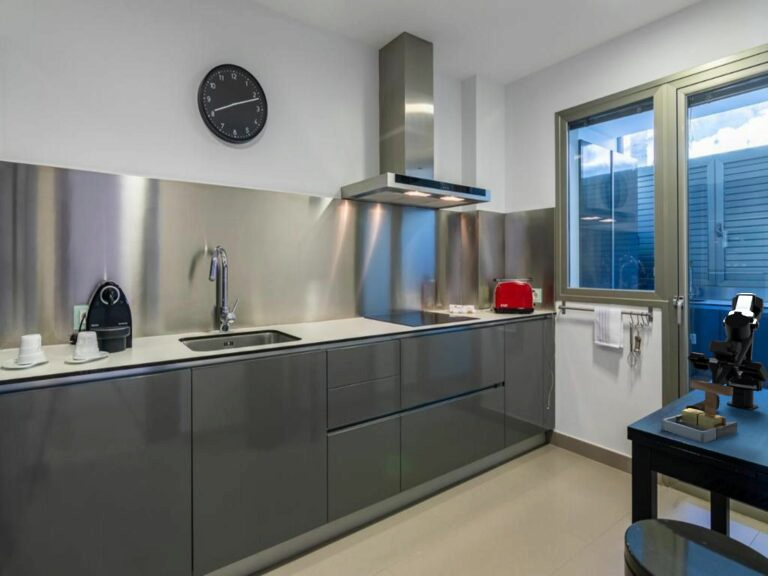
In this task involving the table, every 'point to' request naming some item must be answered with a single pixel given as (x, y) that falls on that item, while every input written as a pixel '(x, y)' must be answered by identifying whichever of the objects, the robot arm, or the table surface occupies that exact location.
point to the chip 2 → (709, 420)
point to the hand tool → (703, 405)
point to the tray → (687, 431)
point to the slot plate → (720, 430)
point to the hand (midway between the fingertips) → (714, 387)
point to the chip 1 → (691, 415)
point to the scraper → (711, 394)
